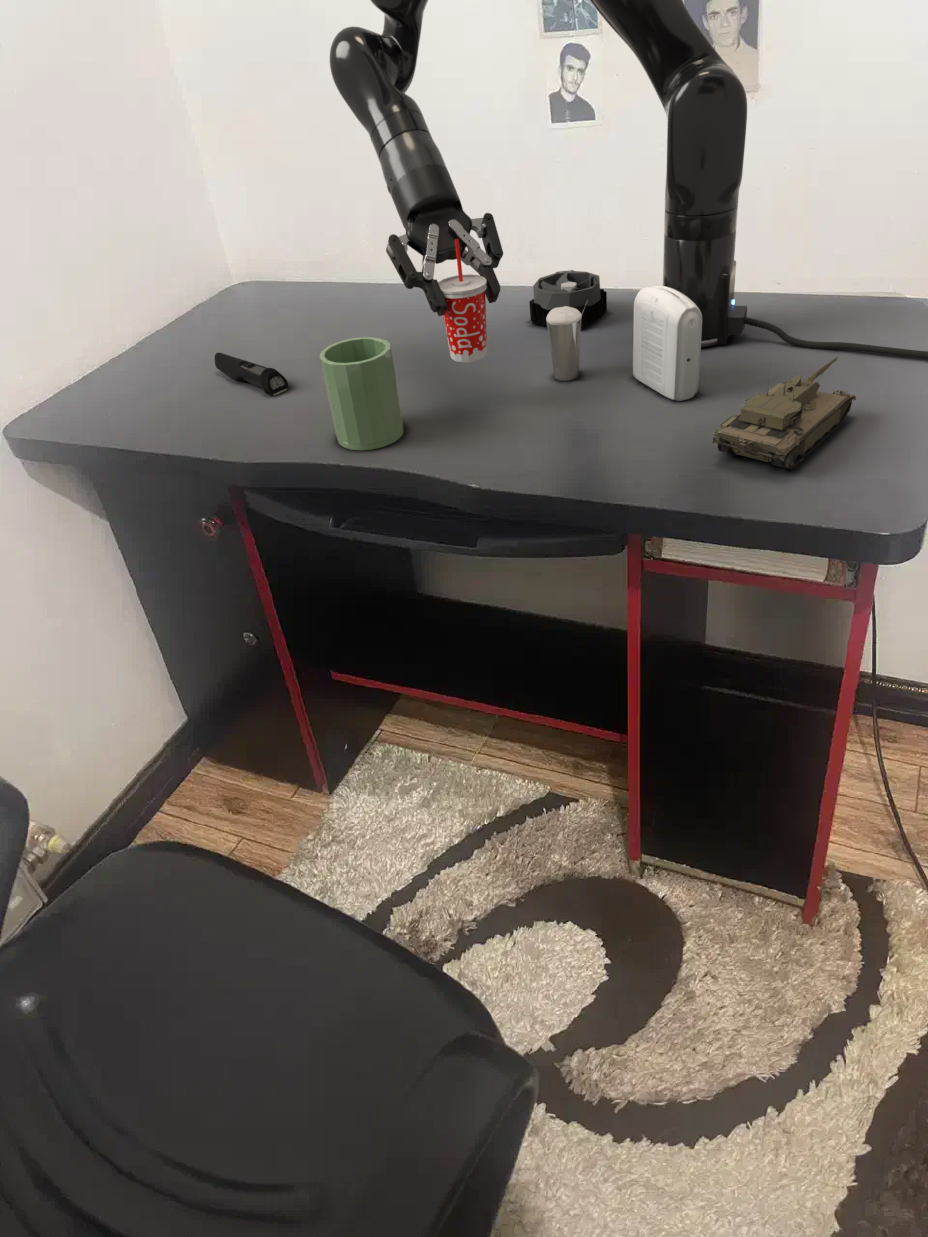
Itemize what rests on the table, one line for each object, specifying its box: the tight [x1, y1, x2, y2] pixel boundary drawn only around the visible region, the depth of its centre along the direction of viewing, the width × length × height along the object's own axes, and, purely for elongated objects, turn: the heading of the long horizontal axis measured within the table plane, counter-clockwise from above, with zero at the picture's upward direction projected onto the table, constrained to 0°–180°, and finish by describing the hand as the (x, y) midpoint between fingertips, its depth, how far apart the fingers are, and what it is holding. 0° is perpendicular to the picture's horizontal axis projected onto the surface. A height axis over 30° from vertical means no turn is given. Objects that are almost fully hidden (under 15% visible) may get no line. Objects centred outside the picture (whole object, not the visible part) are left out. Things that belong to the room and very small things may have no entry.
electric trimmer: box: [214, 352, 289, 396], centre depth 133 cm, size 4×16×3 cm, turn 44°
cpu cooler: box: [528, 269, 608, 329], centre depth 138 cm, size 10×6×10 cm
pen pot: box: [319, 336, 405, 451], centre depth 112 cm, size 8×8×11 cm
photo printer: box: [632, 284, 702, 402], centre depth 113 cm, size 10×4×12 cm, turn 25°
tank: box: [711, 356, 857, 470], centre depth 100 cm, size 9×22×10 cm, turn 138°
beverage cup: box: [438, 239, 488, 363], centre depth 111 cm, size 6×6×14 cm
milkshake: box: [546, 300, 588, 382], centre depth 120 cm, size 4×5×10 cm
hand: (469, 305), depth 110 cm, fingers closed on beverage cup, 6 cm apart
